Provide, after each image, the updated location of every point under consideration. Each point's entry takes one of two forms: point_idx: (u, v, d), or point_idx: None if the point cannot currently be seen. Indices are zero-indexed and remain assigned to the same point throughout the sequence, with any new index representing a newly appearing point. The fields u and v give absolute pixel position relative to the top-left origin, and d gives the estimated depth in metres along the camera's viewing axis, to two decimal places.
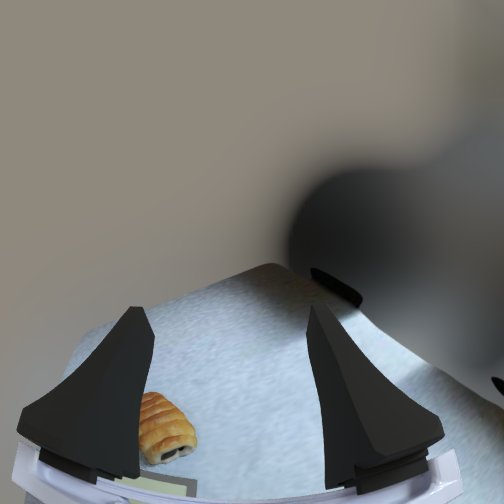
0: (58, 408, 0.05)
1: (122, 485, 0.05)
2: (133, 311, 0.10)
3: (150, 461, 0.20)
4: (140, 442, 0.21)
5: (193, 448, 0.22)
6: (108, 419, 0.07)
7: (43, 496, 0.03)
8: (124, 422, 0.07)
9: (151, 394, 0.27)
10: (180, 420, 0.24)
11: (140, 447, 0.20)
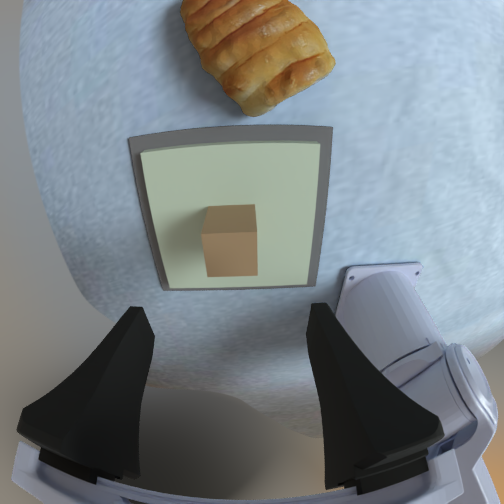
0: (58, 408, 0.05)
1: (122, 485, 0.05)
2: (133, 311, 0.10)
3: (253, 113, 0.14)
4: (235, 84, 0.11)
5: None
6: (108, 419, 0.07)
7: (43, 496, 0.03)
8: (124, 422, 0.07)
9: None
10: (306, 22, 0.10)
11: (233, 93, 0.12)
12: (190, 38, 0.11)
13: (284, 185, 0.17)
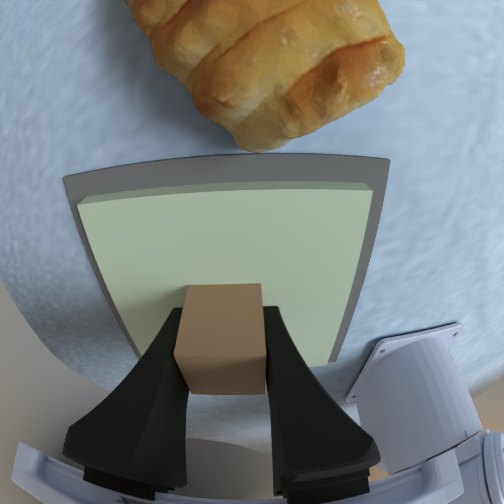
0: (113, 424, 0.05)
1: None
2: (179, 312, 0.10)
3: (255, 148, 0.07)
4: (214, 93, 0.05)
5: None
6: (165, 429, 0.07)
7: (43, 496, 0.03)
8: (175, 430, 0.08)
9: None
10: None
11: (213, 112, 0.06)
12: (134, 14, 0.05)
13: (309, 256, 0.10)
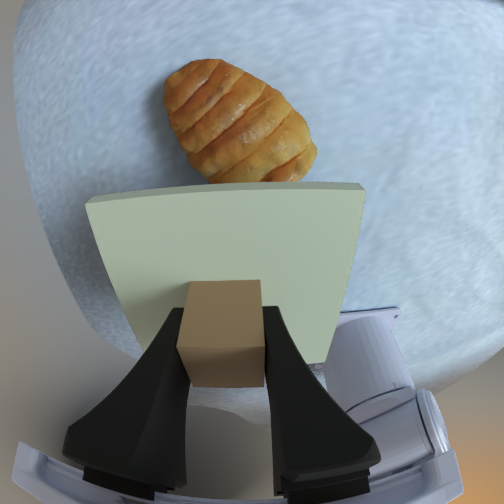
0: (113, 424, 0.05)
1: None
2: (178, 312, 0.10)
3: None
4: None
5: None
6: (164, 429, 0.07)
7: (43, 496, 0.03)
8: (175, 430, 0.08)
9: (200, 69, 0.11)
10: (287, 117, 0.13)
11: None
12: (175, 134, 0.14)
13: (306, 253, 0.11)
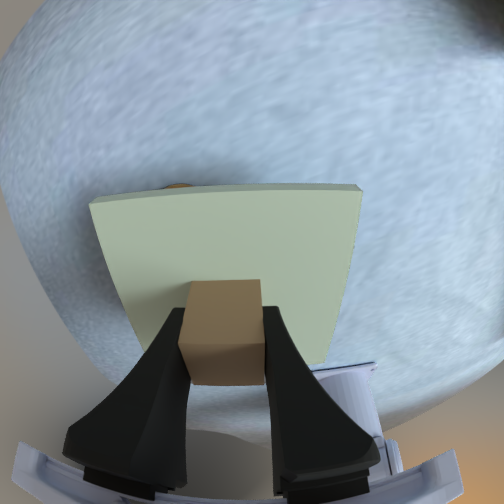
0: (113, 424, 0.05)
1: None
2: (179, 312, 0.10)
3: None
4: None
5: None
6: (165, 429, 0.07)
7: (43, 496, 0.03)
8: (175, 430, 0.08)
9: None
10: None
11: None
12: None
13: (305, 253, 0.11)
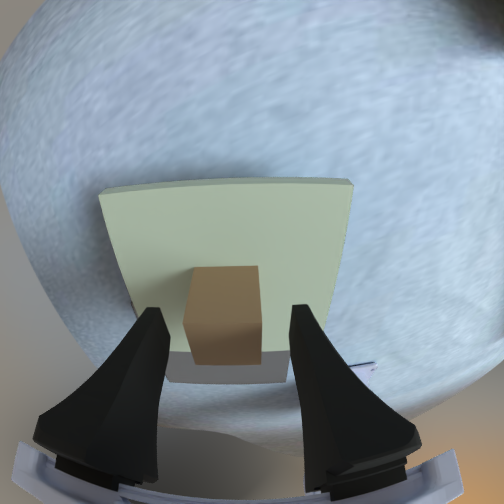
0: (78, 415, 0.05)
1: (122, 485, 0.05)
2: (150, 311, 0.10)
3: None
4: None
5: None
6: (129, 423, 0.07)
7: (43, 496, 0.03)
8: (144, 426, 0.07)
9: None
10: None
11: None
12: None
13: (299, 241, 0.12)
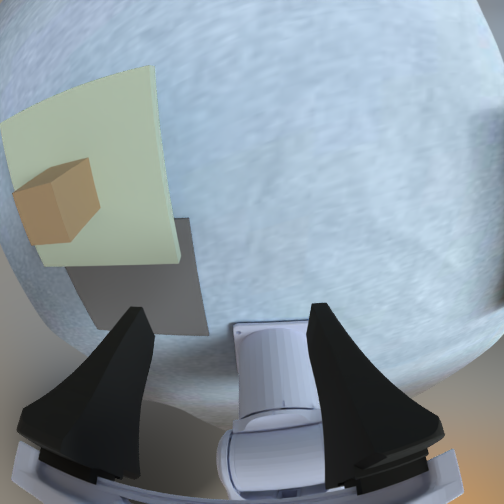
0: (58, 408, 0.05)
1: (122, 485, 0.05)
2: (133, 311, 0.10)
3: None
4: None
5: None
6: (108, 419, 0.07)
7: (43, 496, 0.03)
8: (124, 422, 0.07)
9: None
10: None
11: None
12: None
13: (114, 127, 0.11)
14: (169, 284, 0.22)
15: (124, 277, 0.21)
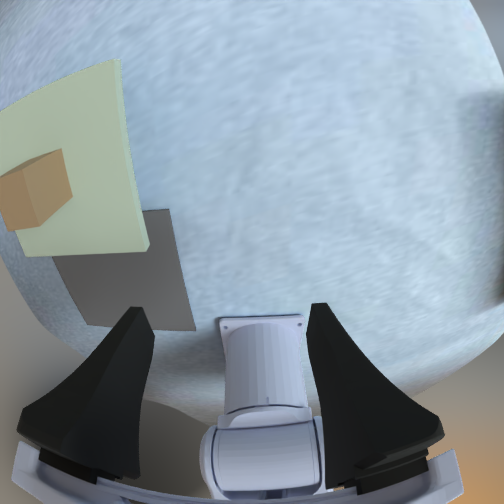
0: (58, 408, 0.05)
1: (122, 485, 0.05)
2: (133, 311, 0.10)
3: None
4: None
5: None
6: (108, 419, 0.07)
7: (43, 496, 0.03)
8: (124, 422, 0.07)
9: None
10: None
11: None
12: None
13: (83, 118, 0.10)
14: (153, 277, 0.22)
15: (109, 271, 0.21)
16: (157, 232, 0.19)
